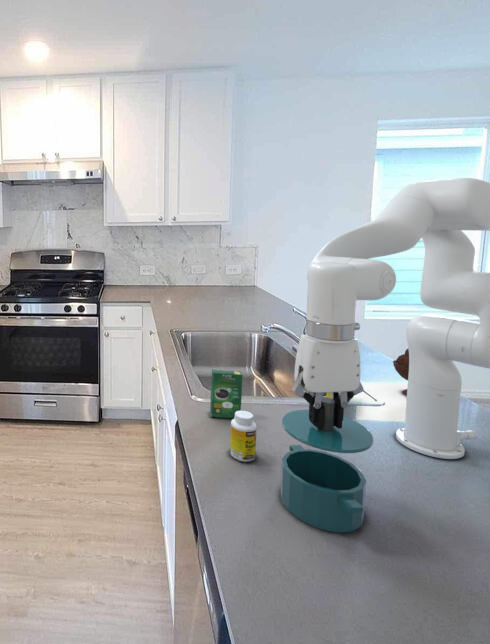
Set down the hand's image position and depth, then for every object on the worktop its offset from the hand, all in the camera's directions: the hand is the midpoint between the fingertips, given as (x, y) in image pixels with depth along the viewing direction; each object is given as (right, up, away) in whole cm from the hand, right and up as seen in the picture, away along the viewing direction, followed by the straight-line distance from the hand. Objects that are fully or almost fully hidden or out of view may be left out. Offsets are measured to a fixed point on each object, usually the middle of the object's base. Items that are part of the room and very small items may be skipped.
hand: (325, 424), depth 76 cm
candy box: (+27, -11, +41) cm, 51 cm away
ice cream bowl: (+56, -10, +49) cm, 75 cm away
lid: (0, -1, 0) cm, 1 cm away
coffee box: (-6, -12, +37) cm, 40 cm away
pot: (0, -16, +2) cm, 16 cm away
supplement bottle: (-8, -15, +18) cm, 25 cm away
